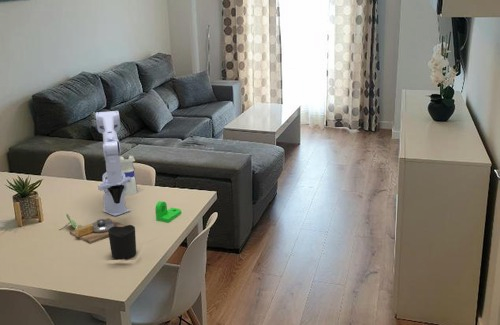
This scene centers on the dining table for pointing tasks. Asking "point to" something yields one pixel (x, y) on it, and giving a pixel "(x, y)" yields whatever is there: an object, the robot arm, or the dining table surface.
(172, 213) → the mechanical part
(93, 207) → the dining table surface
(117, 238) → the pen holder
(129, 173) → the water bottle
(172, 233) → the dining table surface
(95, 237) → the board
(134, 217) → the dining table surface
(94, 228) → the pan with wooden handle
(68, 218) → the seedling
